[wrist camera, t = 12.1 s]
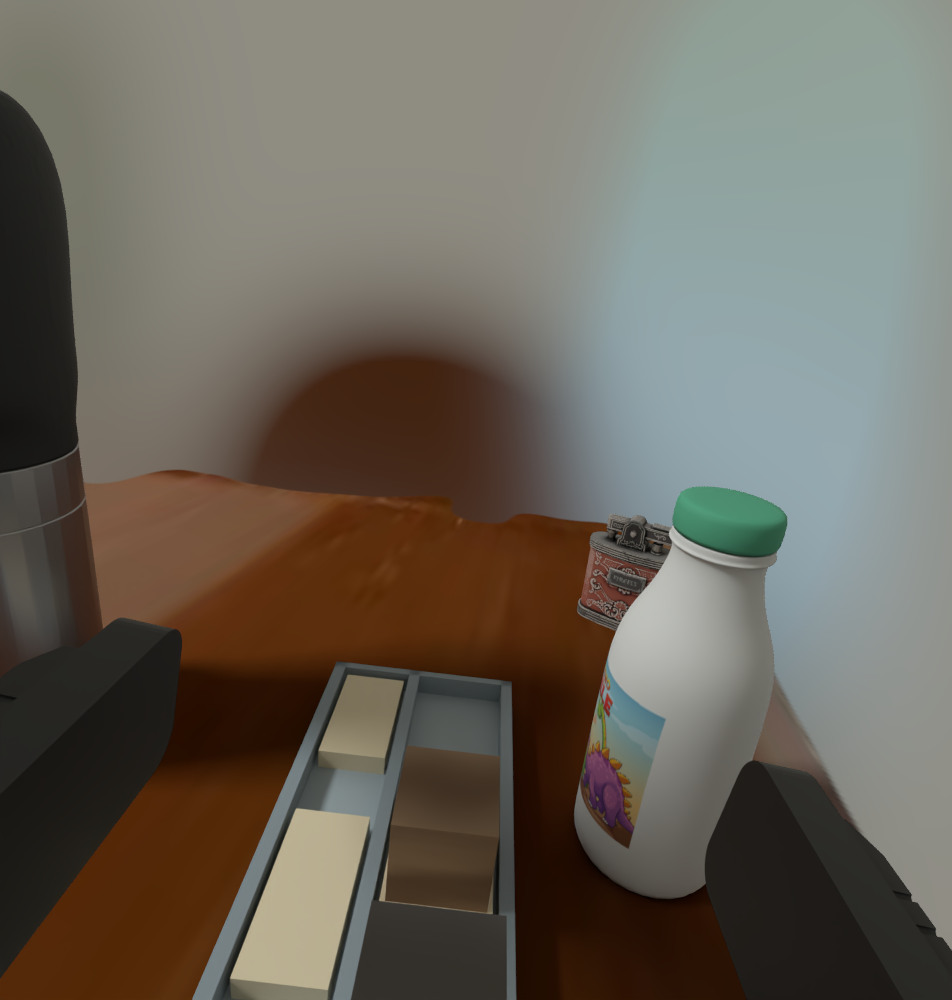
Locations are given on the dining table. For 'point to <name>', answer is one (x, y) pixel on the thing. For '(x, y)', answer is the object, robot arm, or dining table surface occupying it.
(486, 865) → the walnut cube
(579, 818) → the milk bottle
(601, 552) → the lighter
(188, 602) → the dining table surface
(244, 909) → the lane board
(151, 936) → the dining table surface
